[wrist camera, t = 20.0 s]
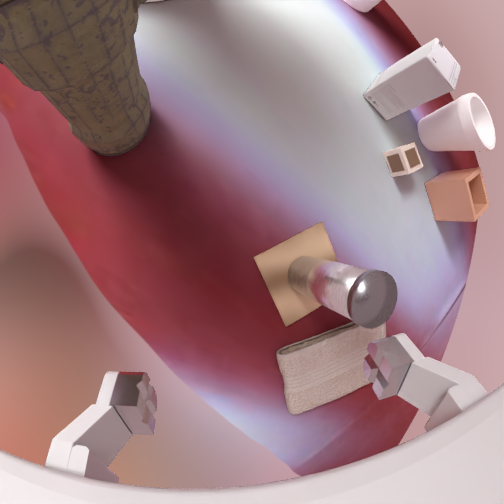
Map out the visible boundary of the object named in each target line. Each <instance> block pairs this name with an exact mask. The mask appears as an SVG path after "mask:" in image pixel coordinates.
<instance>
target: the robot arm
mask: <svg viewBox="0 0 504 504" xmlns="http://www.w3.org/2000/svg"><path fill="white" fill-rule="evenodd" d="M155 1H162V0H147V1H146V2H155ZM367 351H368V352H369V354H368V355H367V356H366V357H365V358H364V362H363V370H364V374H365V376H366V378H367V380H368V381H370V382H372V383H373V387H372V389H373V390H374V392H375V394H376V395H377V397H378V399H379V400H381V399H385V398H388V397H391V396H394V395H397V394H398V396H399V397H401V398H403V399H404V400H406V401H407V402H409V403H410V404H412V405H414V406H415V407H417V408H418V409H420V410H422V411H423V412H425V413H427V414H428V415H430V416H431V417H430V419H429V420H428V422H427V423H426V425H425V429H426V431H427V432H426V433H424V434H422V435H420V436H418V437H416V438H414V439H411V440H409V441H407V442H405V443H403V444H400V445H398V446H396V447H393V448H391V449H389V450H386V451H384V452H381V453H379V454H376V455H373V456H371V457H368V458H365V459H362V460H359V461H356V462H353V463H350V464H347V465H344V466H340V467H337V468H334V469H330V470H326V471H323V472H319V473H315V474H310V475H306V476H302V477H297V478H292V479H287V480H282V481H276V482H270V483H262V484H255V485H247V486H236V487H223V488H198V489H180V488H158V487H145V486H135V485H126V484H119V483H118V482H119V478H118V476H117V475H116V474H115V473H114V472H112V471H111V470H110V469H109V468H108V466H109V464H111V462H112V461H113V460H114V458H115V457H116V456H117V455H118V453H119V452H120V451H121V450H122V448H123V447H124V446H125V444H126V443H127V442H128V441H129V439H130V438H131V437H132V434H145V435H146V434H147V435H148V434H149V435H153V434H154V428H155V419H154V417H153V414H154V413H155V411H156V409H157V397H156V393H155V390H154V388H153V387H152V386H151V385H150V384H149V381H150V379H149V376H148V374H147V373H145V372H111V371H108V372H107V373H106V374H105V376H104V379H103V383H102V386H101V389H100V392H99V395H98V399H97V402H96V405H94V404H92V405H91V406H90V407H89V408H88V409H86V410H85V411H84V412H83V413H82V414H81V415H80V416H78V417H77V418H76V419H75V420H74V421H73V422H71V423H70V424H69V425H68V426H67V427H66V428H65V429H64V430H62V431H61V432H60V433H59V434H58V435H56V436H55V437H54V438H53V440H52V443H51V446H50V450H49V453H48V457H47V460H46V464H45V466H42V465H39V464H36V463H33V462H31V461H28V460H25V459H22V458H20V457H17V456H15V455H12V454H10V453H8V452H5V451H3V450H1V449H0V504H504V383H503V384H502V385H501V386H500V387H498V388H497V389H496V390H494V391H493V392H491V393H490V394H488V393H487V392H486V390H485V389H484V388H483V387H482V386H481V384H480V383H479V382H478V381H477V380H476V378H475V377H474V376H473V375H472V374H469V373H467V372H464V371H462V370H459V369H457V368H454V367H451V366H449V365H447V364H444V363H442V362H440V361H437V360H435V359H432V358H430V357H424V356H423V355H422V353H421V352H420V351H419V350H418V348H417V347H416V346H415V345H414V344H413V343H412V341H411V340H410V339H409V338H408V337H407V335H406V334H404V333H400V334H397V335H394V336H390V337H387V338H383V339H379V340H376V341H372V342H370V343H369V344H368V347H367Z"/></svg>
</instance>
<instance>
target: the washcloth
mask: <svg viewBox="0 0 504 504" xmlns="http://www.w3.org/2000/svg"><path fill="white" fill-rule="evenodd" d="M383 338H386V322H385V323H383V324H382V325H381V326H379V327H377V328H373V329H367V328H364V327H362V326H360V325H358V324H356V323H355V322H354V321H353V322H350V323H348V324H345V325H343V326H340V327H337V328H335V329H332V330H330V331H327V332H324V333H322V334H319V335H317V336H314V337H311V338H309V339H305V340H303V341H299V342H296V343H293V344H291V345H288V346H285V347H283V348H281V349H279V350H278V351H277V353H276V354H277V361H278V365H279V369H280V371H281V374H282V375H283V381H284V385H285V387H284V395H285V400H286V404H287V408H288V411H289V413H290V414H293V415H295V414H297V415H298V414H300V413H302V412H306V411H308V410H310V409H314V408H315V407H317V406H321V405H322V404H325V403H327V402H330V401H333V400H335V399H338V398H340V397H342V396H344V395H347V394H348V393H350V392H353V391H355V390H356V389H358V388H360V387H363V386H364V385H366V384H369V383H371V382H370V381H368V380H367V378H366V376H365V374H364V370H363V362H364V358H365V357H366V356H367V355H368V354H369V352H368V351H367V347H368V344H369V343H370V342H372V341H376V340H379V339H383Z"/></svg>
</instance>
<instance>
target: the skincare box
mask: <svg viewBox="0 0 504 504" xmlns="http://www.w3.org/2000/svg"><path fill="white" fill-rule="evenodd" d="M460 68H461V67H460V66H459V64H458V63H457V61H456V60H455V59H454V58H453V56H452V55H451V54H450V53H449V51H448V50H447V49H446V48H445V47H444V46H443V44H442V43H441V42H440V41H439V40H438V39H437V38H435V39H434V40H432V41H430V42H429V43H427V44H425V45H424V46H422V47H420V48H419V49H417V50H415V51H414V52H412V53H411V54H409V55H407V56H406V57H404V58H403V59H401V60H399V61H398V62H396V63H395V64H393V65H392V66H390V67H389V68H387V69H386V70H384V71H383V72H381V73H379V74H378V76H377V77H376V78H375V80H374V81H373V82H372V84H371V85H370V86H369V88H368V89H367V91H366V92H365V93H364V94H363V95H364V97H365V98H366V99H367V100H368V101H369V102H370V103H371V104H372V105H373V106H374V108H375V109H376V110H377V111H378V112H379V113H380V115H381V116H382V117H383V118H384V119H385V120H389V119H391V118H393V117H395V116H397V115H400V114H402V113H404V112H406V111H408V110H410V109H413V108H415V107H417V106H419V105H421V104H423V103H426V102H428V101H430V100H432V99H435V98H437V97H439V96H441V95H444V94H446V93H449V92H451V91H454V90H455V87H456V83H457V80H458V76H459V72H460Z"/></svg>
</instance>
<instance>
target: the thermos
mask: <svg viewBox="0 0 504 504" xmlns="http://www.w3.org/2000/svg"><path fill="white" fill-rule="evenodd" d="M146 1H147V0H0V63H1V64H4V65H5V66H6V67H7V68H8V69H9V70H10V71H11V72H12V73H13V74H14V75H15V76H16V77H17V78H18V79H19V80H20V81H21V82H22V83H23V84H24V85H25V86H27V87H29V88H31V89H33V90H35V91H40V92H41V93H42V94H43V95H44V96H45V97H46V98H47V99H48V100H49V101H50V102H51V103H52V105H53V106H54V107H55V108H56V109H57V110H58V111H59V112H60V113H61V114H62V115H63V116H64V117H65V118H66V119H67V120H68V122H69V127H70V129H71V131H72V133H73V135H75V136H76V137H77V138H78V139H79V140H80V141H81V142H82V143H83V144H84V145H86V146H88V147H89V148H91V149H92V150H93V151H95V152H97V153H98V154H101V155H106V156H115V155H121V154H123V153H125V152H128V151H130V150H132V149H133V148H134V147H135V146H137V145H138V144H139V143H140V142H141V141H142V139H143V138H144V137H145V135H146V134H147V131H148V129H149V126H150V121H151V112H150V106H151V104H150V98H149V92H148V89H147V86H146V83H145V81H144V80H143V78H142V77H141V75H140V73H139V67H138V61H137V55H136V49H135V42H134V33H135V32H136V27H137V22H138V8H139V4H140V3H144V2H146Z"/></svg>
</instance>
